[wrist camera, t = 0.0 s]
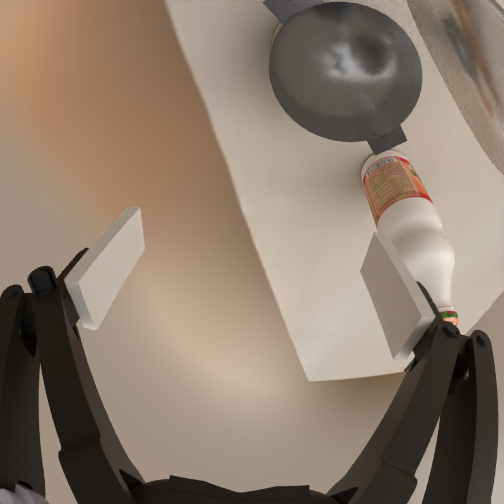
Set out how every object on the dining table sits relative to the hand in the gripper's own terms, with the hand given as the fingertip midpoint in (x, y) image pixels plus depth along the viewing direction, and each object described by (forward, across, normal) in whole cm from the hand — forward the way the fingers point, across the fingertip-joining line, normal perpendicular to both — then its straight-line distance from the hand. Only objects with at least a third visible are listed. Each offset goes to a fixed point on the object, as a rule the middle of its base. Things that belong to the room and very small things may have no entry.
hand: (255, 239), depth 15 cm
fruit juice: (+30, +21, -2) cm, 37 cm away
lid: (+3, +13, +13) cm, 19 cm away
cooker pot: (+24, +7, +15) cm, 29 cm away
